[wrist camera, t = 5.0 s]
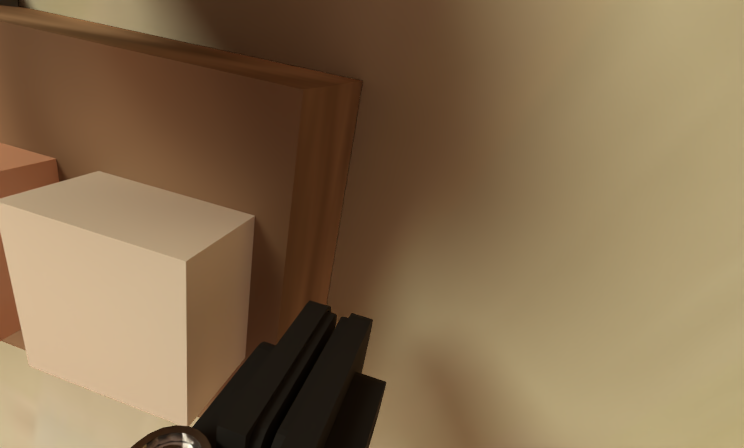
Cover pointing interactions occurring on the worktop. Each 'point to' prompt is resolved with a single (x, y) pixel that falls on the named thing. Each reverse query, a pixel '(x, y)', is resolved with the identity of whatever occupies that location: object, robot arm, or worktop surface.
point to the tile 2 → (130, 289)
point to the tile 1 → (8, 177)
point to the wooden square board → (192, 139)
